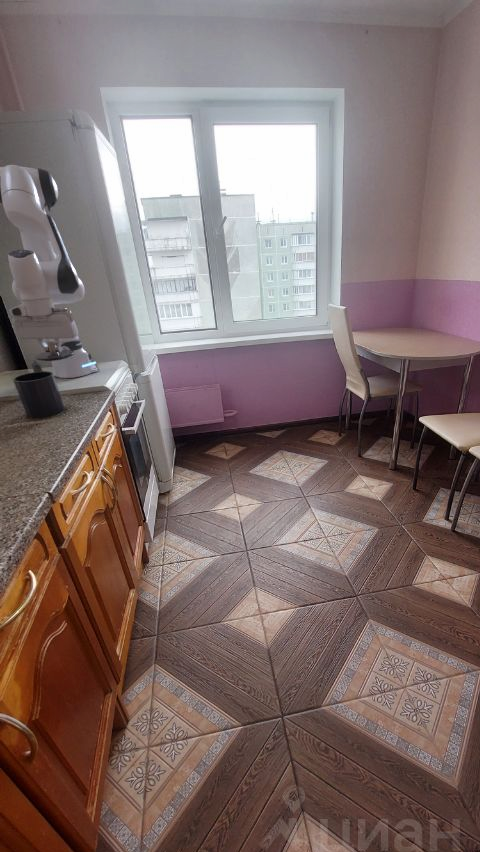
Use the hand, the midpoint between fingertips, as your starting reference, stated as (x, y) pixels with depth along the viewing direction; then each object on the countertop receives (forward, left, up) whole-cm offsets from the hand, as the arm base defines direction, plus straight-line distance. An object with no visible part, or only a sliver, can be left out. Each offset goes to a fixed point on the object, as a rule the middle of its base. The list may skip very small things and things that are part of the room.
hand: (53, 351), depth 131 cm
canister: (+14, -5, -17) cm, 22 cm away
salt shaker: (-13, -10, -17) cm, 24 cm away
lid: (0, 0, -1) cm, 1 cm away
